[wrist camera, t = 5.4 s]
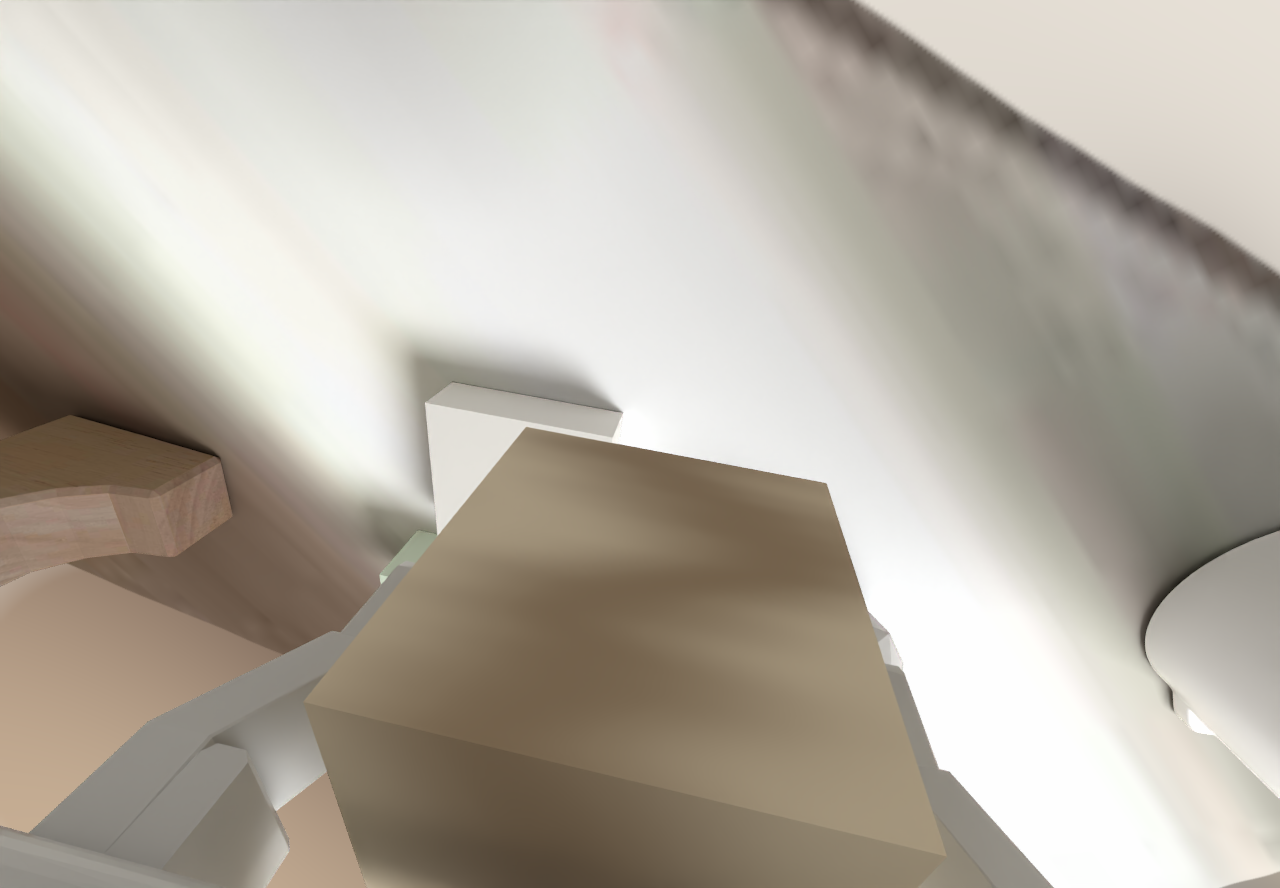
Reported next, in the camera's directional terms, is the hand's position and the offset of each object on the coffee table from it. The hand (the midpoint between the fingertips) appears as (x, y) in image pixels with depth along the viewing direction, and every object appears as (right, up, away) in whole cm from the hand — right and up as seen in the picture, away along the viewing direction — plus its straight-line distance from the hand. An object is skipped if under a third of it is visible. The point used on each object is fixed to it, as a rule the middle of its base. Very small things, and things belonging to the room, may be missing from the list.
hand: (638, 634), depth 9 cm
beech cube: (0, +1, +2) cm, 2 cm away
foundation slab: (-6, +2, +22) cm, 23 cm away
